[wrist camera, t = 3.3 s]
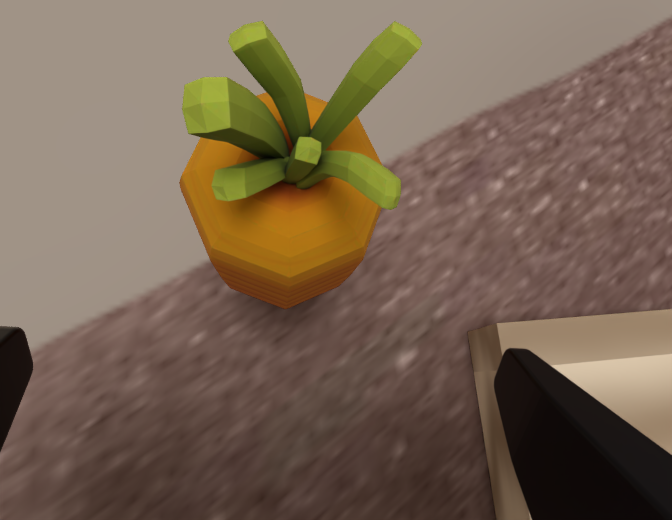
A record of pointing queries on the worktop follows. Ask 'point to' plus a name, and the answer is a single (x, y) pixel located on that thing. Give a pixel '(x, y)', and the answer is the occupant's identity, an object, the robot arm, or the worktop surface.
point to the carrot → (288, 169)
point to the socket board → (579, 379)
